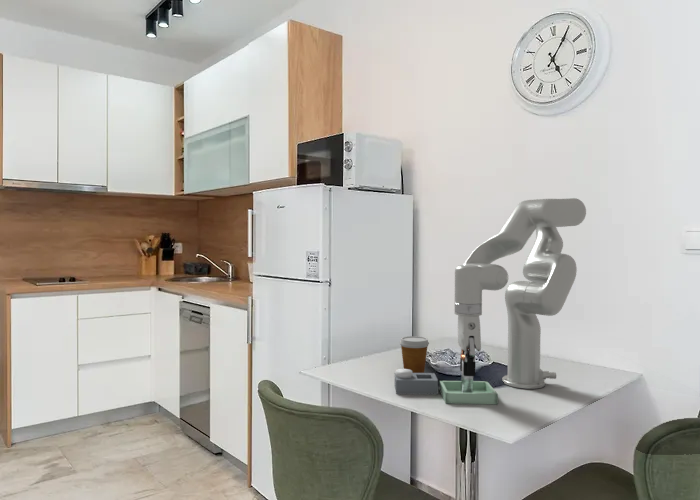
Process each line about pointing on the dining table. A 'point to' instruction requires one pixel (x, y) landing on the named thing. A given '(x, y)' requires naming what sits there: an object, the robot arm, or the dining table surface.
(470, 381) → the pin
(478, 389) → the tray
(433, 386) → the block
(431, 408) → the dining table surface
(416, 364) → the disposable coffee cup
